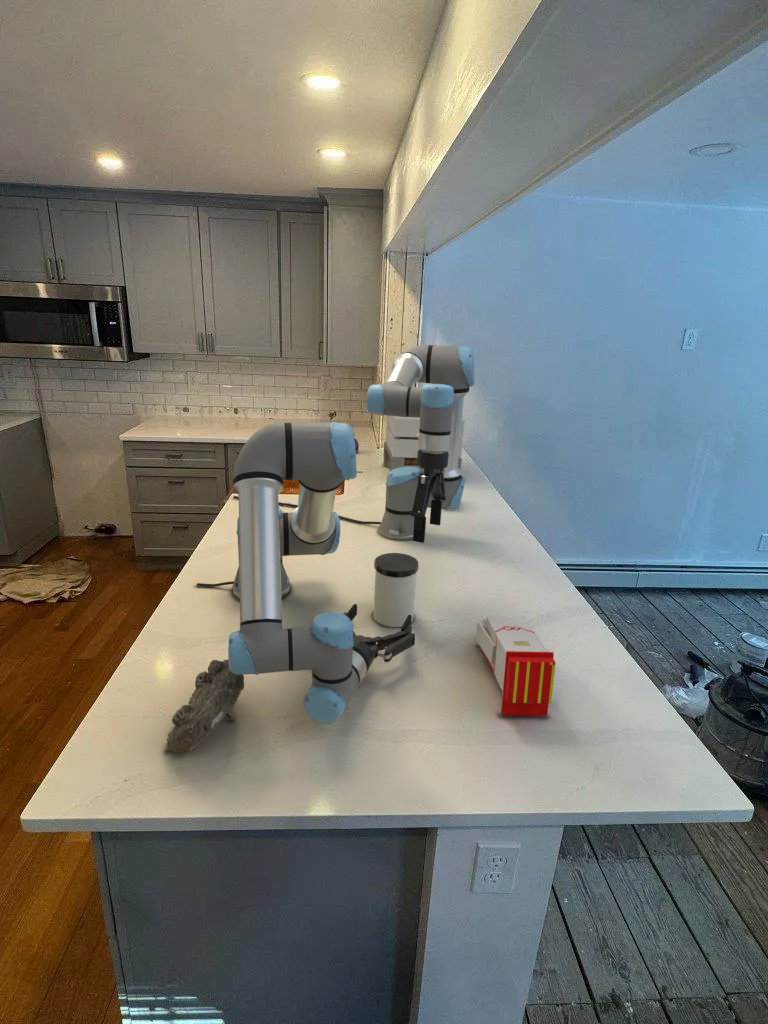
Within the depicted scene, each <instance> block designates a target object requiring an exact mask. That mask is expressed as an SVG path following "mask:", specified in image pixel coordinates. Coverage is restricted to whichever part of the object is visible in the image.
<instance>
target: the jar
mask: <svg viewBox="0 0 768 1024" xmlns="http://www.w3.org/2000/svg"><path fill="white" fill-rule="evenodd" d="M374 570H375V569H374ZM417 572H418V571H417ZM417 572H416V573H415V574H413V575H411V576H407V577H389V576H385V575H382V574H380V573H378V572H377V571H376V570H375V573H374V592H373V593H374V595H373V619H374V621H375V622H377V623H378V624H380V625H382V626H385V627H391V628H401V627H402V626H403V624H404V622H405V620H406V618H407V617H408V615H412V618H411V623H413V620H414V614H415V600H416V587H417V586H416V585H417Z"/></svg>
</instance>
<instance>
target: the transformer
mask: <svg viewBox="0 0 768 1024" xmlns="http://www.w3.org/2000/svg"><path fill="white" fill-rule="evenodd" d="M385 423H386V428H385V438H384V442H383V466H384V467H388V468H389V472H390V471H391V470H393V469H396V468H400V467H405V466H406V467H417V466H418V465H417V453H418V451H419V450H420V449H419V448H418V441H419V439H418V438H417V435H419V428H420V418H416V417H403V416H387V415H385ZM464 429H465V419H464V418H462V423H461V434H460V446H459V458H458V468H459V469H460V470H461V471H462V461H463V460H462V453H463V442H464V441H463V440H462V439H463V438H464V431H465V430H464ZM418 467H419V466H418Z"/></svg>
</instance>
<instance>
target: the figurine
mask: <svg viewBox="0 0 768 1024" xmlns="http://www.w3.org/2000/svg"><path fill="white" fill-rule="evenodd" d="M350 426H351V427H352V428H353V430H354V429H355V424H351V425H350ZM353 433H354V431H353ZM355 437H356V436H355V433H354V441H355V452H356V454H357V453H359V448H360V446H359V442H358V440H357V439H356V438H355Z"/></svg>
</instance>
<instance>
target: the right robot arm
mask: <svg viewBox="0 0 768 1024" xmlns="http://www.w3.org/2000/svg"><path fill="white" fill-rule="evenodd" d="M386 377H387V378H386V379H385V381H384V382H383V383H378V384H370V385H369V387H368V389H367V393H366V410H367V412H368V413H369V414H372V415H378V416H386V415H387V416H403V417H416V418H420V428H419V435H417V438H418V439H419V441H418V448H419V449H420V450H419V451H418V453H417V465H418V467H417V466H404V467H400V468H396V469H393V470H391V471H390V470H389V472H388V473H387V475H386V482H385V504H384V505H385V507H384V508H385V509H384V513H383V515H382V519H381V521H365V520H358V519H354V518H349V517H345V516H342V515H339V514H338V516H339V520H343V521H347V522H352V523H355V524H361V525H379V526H378V533H379V534H380V535H381V536H382V537H385V538H387V539H389V540H395V541H410V540H412V542H415V543H421V544H424V543H425V541H426V540H425V539H426V538H425V537H426V529H427V528H426V526H427V516H426V514H427V510H428V508H429V509H430V513H429V514H430V515H429V525H434V526H441V520H442V511H443V510H444V511H446V510H450V511H456V510H457V509H459V508H460V505H461V501H462V498H463V493H464V488H465V484H466V477H465V476H463V474H462V469H461V470H460V469H459V468H458V458H459V446H460V439H461V438H460V434H461V423H462V419H463V410H464V399H465V396H466V395H467V394H469V392H470V388H471V387H474V386H475V379H476V378H475V355H474V350H473V349H472V348H471V347H467V346H461V345H441V344H440V345H438V344H437V345H436V344H419V345H415V346H412V347H410V348H407V349H406V350H403V351H402V352H400V353H399V354H397V356H396V357H395V359H394V360H393V361H392V363H391V371H390V373H389V374H388V376H386ZM416 383H420V384H424V385H423V386H422V387H421V386H420V387H419V386H414V385H415V384H416ZM421 468H422V469H423V472H422V469H421ZM233 499H237V500H239V495H237V496H236V495H233ZM278 505H279V506H286V507H292V508H297V507H298V504H293V503H287V502H281V501H278Z"/></svg>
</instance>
